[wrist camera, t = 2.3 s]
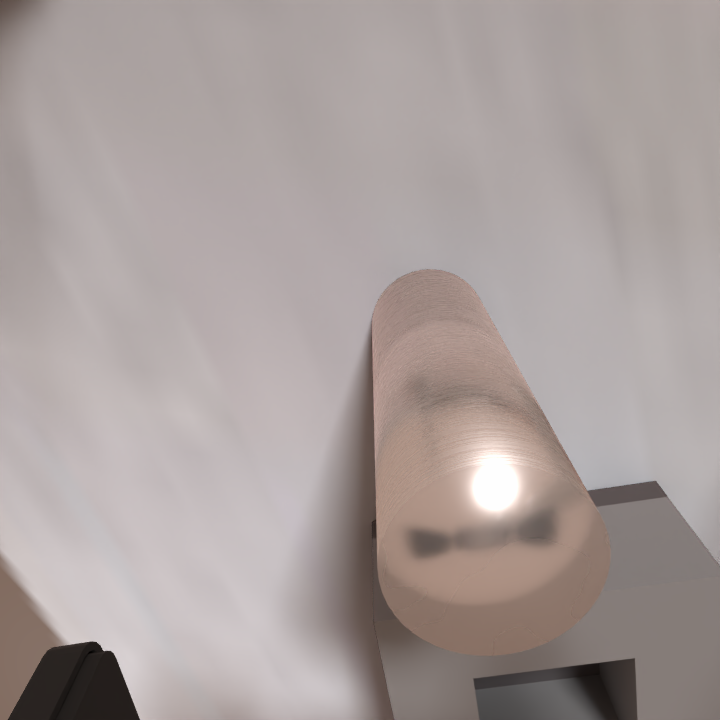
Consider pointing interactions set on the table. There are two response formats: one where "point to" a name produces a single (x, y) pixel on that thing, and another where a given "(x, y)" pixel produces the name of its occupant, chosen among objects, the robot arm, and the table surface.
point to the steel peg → (472, 482)
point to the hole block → (586, 637)
